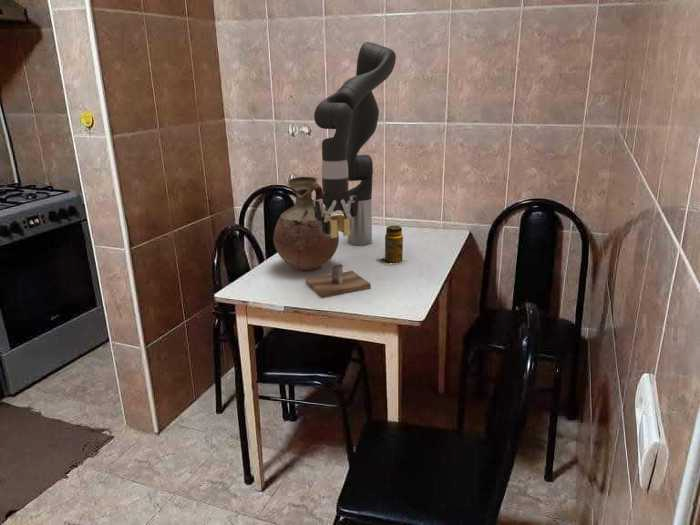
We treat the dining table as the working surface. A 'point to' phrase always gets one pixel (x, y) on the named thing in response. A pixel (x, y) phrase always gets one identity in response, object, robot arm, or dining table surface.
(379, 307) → the dining table surface
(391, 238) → the condiment
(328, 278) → the keyed stand
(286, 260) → the jug
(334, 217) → the collar
